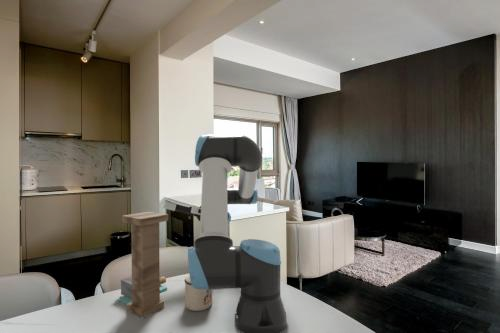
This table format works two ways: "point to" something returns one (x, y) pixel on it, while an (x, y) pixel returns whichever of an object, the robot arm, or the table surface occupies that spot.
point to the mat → (128, 300)
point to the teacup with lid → (196, 296)
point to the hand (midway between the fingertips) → (177, 206)
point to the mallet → (127, 286)
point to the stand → (145, 262)
